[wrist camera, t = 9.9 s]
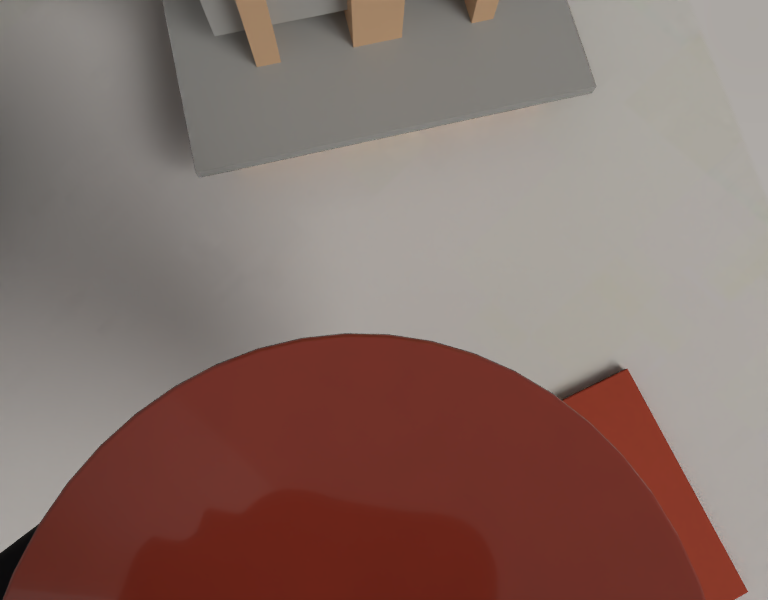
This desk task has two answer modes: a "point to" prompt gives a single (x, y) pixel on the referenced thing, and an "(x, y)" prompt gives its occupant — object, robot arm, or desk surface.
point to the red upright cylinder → (356, 489)
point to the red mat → (659, 476)
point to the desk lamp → (359, 70)
